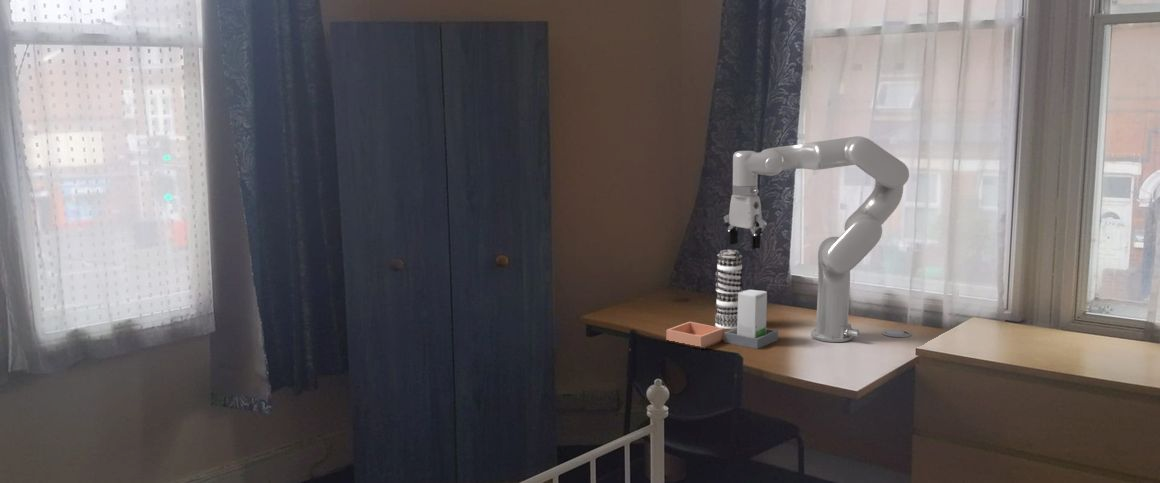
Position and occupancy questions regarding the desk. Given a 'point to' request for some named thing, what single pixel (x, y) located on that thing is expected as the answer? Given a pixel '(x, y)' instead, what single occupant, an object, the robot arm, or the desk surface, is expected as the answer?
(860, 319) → the desk surface
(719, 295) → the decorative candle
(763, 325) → the skincare box
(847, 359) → the desk surface
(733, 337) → the frame
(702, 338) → the terracotta bin
